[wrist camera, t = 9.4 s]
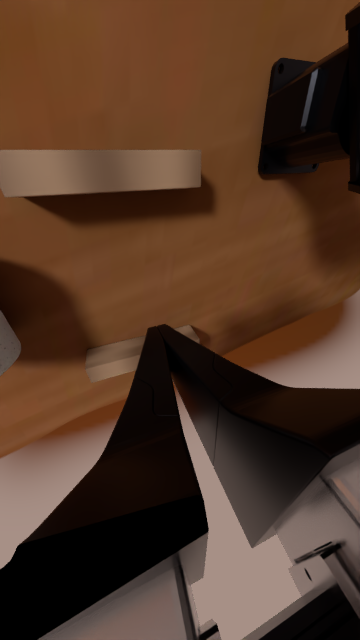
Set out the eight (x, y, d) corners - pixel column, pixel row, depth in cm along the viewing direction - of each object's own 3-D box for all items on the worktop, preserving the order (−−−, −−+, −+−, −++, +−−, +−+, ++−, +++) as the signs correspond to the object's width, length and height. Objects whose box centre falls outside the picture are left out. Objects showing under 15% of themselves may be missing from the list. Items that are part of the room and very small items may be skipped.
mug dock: (185, 157, 15) (201, 149, 13) (190, 337, 25) (199, 352, 23) (6, 159, 12) (-18, 149, 10) (92, 362, 22) (91, 382, 20)
